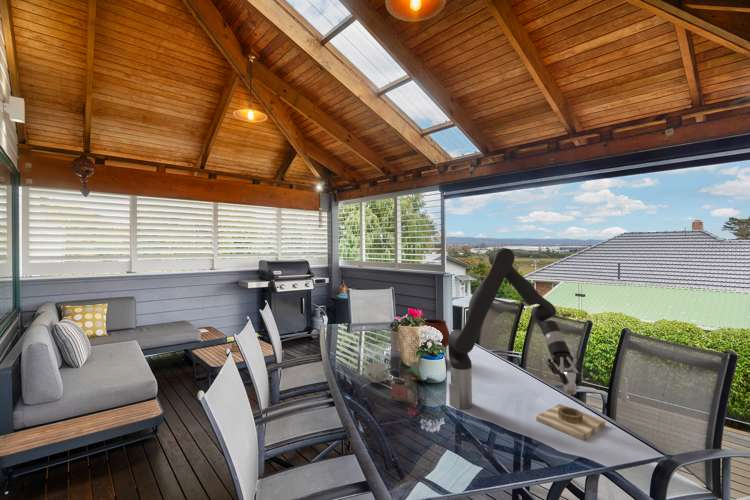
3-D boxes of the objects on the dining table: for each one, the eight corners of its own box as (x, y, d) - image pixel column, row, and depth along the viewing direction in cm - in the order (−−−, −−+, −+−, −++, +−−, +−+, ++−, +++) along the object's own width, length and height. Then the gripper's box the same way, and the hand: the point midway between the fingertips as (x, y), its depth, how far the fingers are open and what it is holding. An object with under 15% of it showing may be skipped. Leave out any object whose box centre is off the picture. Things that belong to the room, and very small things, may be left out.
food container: (415, 384, 181) (415, 365, 181) (408, 380, 187) (408, 361, 187) (434, 379, 187) (434, 361, 187) (427, 375, 193) (427, 357, 192)
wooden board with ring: (583, 440, 127) (583, 428, 127) (536, 420, 142) (536, 409, 142) (605, 425, 138) (605, 414, 137) (559, 408, 152) (559, 398, 152)
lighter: (408, 399, 164) (408, 377, 164) (406, 402, 161) (406, 380, 161) (392, 396, 168) (392, 375, 167) (390, 399, 164) (389, 378, 164)
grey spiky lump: (360, 380, 188) (360, 365, 188) (379, 374, 195) (378, 360, 195) (377, 389, 176) (376, 373, 176) (396, 383, 183) (396, 368, 183)
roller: (572, 395, 137) (572, 375, 137) (561, 391, 140) (561, 371, 140) (578, 392, 139) (578, 372, 139) (567, 388, 143) (566, 369, 143)
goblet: (454, 358, 220) (454, 319, 220) (443, 368, 204) (442, 325, 203) (426, 354, 230) (426, 316, 230) (413, 362, 214) (413, 322, 214)
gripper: (542, 340, 147) (557, 380, 135) (576, 339, 147) (594, 379, 135) (537, 349, 152) (551, 388, 140) (569, 348, 152) (586, 387, 140)
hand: (572, 383), depth 138 cm, fingers closed on roller, 4 cm apart
